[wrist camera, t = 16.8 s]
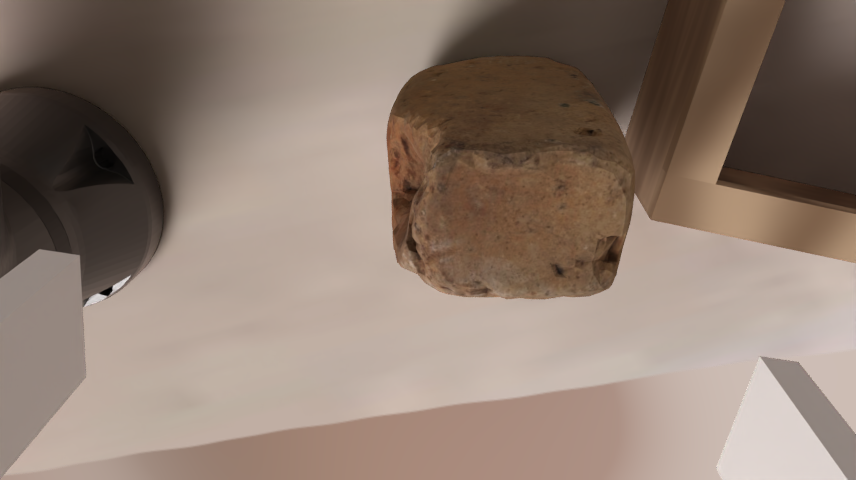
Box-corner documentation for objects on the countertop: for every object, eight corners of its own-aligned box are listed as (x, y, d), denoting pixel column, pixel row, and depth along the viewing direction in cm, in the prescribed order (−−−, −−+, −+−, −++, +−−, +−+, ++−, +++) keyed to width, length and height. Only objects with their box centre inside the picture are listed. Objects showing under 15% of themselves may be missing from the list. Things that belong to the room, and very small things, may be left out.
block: (585, 53, 43) (661, 140, 25) (573, 172, 46) (633, 327, 28) (407, 49, 44) (352, 129, 26) (406, 166, 47) (357, 314, 28)
